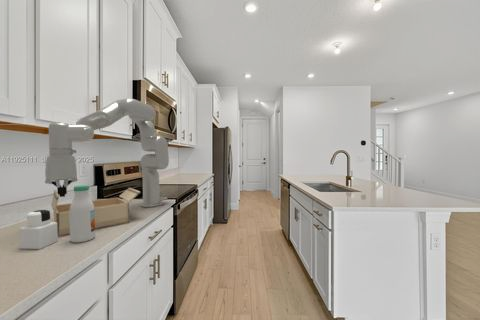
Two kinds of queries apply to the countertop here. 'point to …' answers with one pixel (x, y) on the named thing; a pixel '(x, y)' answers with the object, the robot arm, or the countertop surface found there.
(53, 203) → the flap
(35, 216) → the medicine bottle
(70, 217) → the milk bottle
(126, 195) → the flap
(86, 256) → the countertop surface
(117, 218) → the carton
